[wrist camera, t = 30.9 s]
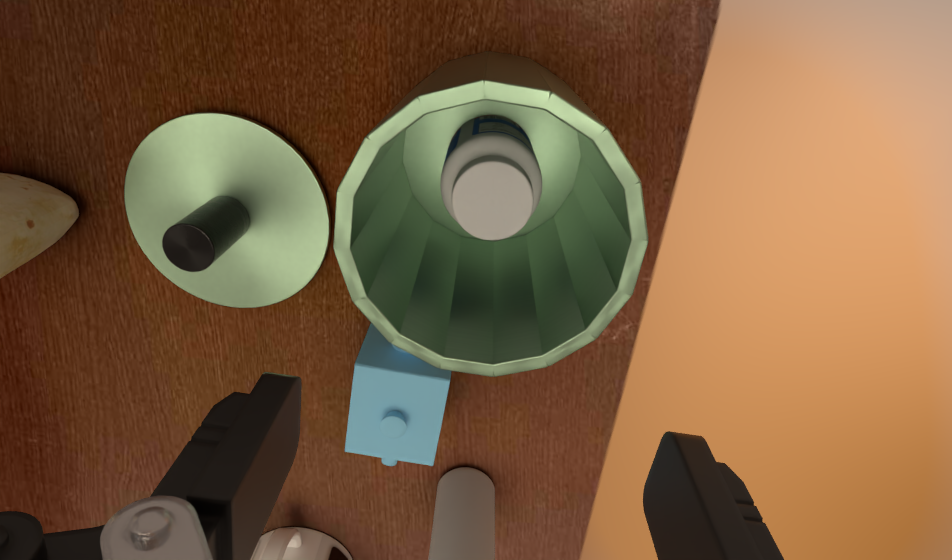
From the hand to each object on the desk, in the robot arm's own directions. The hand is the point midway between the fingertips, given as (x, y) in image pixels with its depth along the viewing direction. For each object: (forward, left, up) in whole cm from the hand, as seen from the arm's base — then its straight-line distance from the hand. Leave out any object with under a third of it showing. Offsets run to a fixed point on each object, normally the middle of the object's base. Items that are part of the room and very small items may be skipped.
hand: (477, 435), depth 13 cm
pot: (0, 0, -27) cm, 27 cm away
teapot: (+16, -3, -27) cm, 32 cm away
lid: (+7, -16, -27) cm, 32 cm away
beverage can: (+28, +3, -27) cm, 39 cm away
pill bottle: (0, 0, -27) cm, 27 cm away
